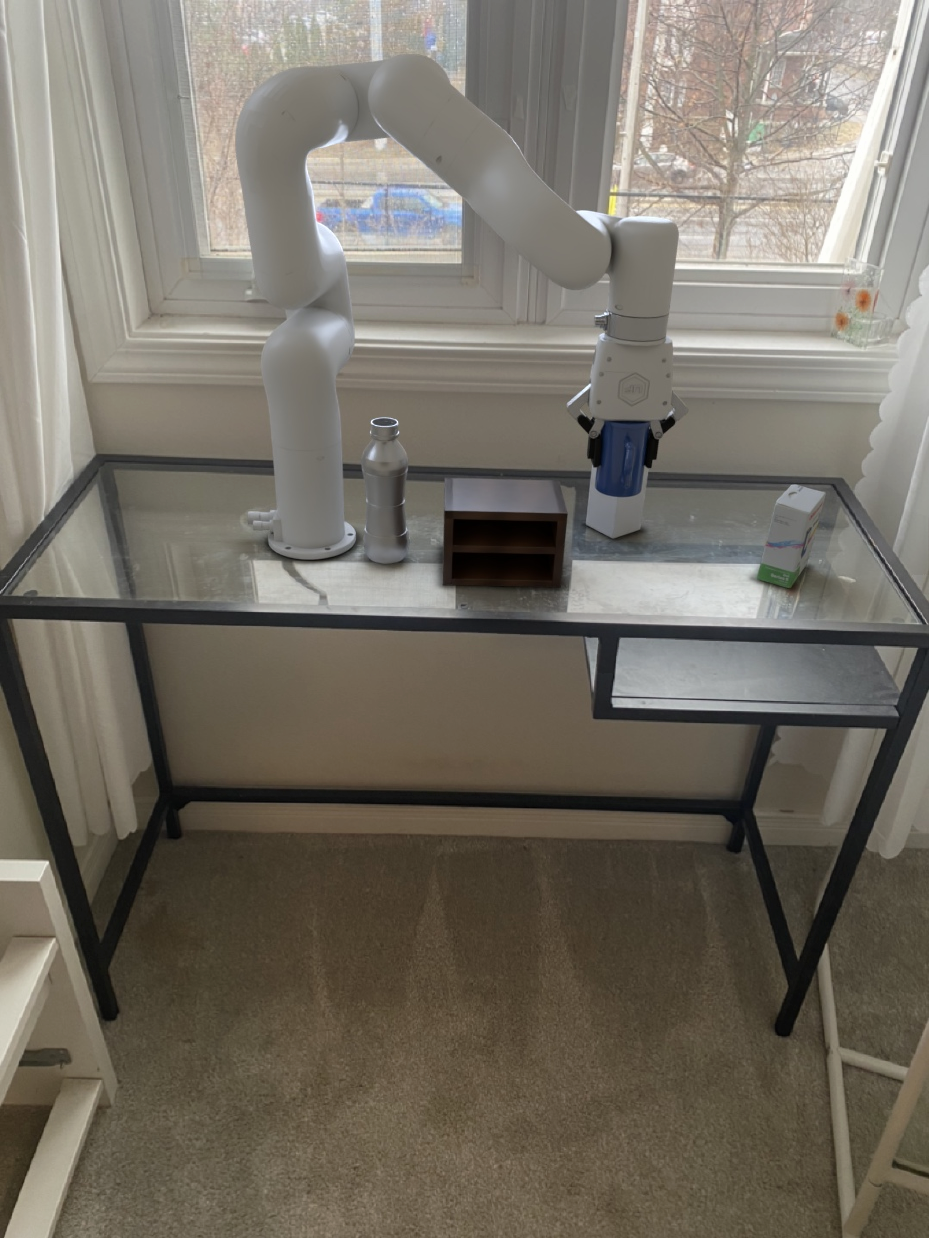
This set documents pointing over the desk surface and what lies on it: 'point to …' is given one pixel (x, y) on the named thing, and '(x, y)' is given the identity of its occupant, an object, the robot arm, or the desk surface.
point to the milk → (615, 510)
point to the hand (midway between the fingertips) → (620, 463)
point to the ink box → (791, 535)
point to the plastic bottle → (385, 493)
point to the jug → (622, 458)
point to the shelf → (503, 532)
